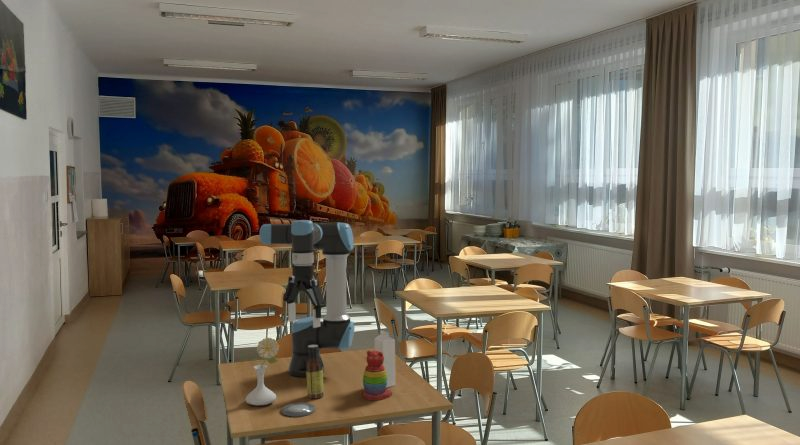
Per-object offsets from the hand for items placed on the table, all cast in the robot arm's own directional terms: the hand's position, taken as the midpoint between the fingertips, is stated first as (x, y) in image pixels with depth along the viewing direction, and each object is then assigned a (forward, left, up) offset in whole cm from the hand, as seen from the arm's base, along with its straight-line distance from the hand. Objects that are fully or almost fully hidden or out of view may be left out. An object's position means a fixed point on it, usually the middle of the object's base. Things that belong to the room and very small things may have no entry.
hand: (304, 324), depth 225 cm
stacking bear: (+3, +30, -33) cm, 45 cm away
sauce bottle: (-13, +13, -33) cm, 38 cm away
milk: (-4, +41, -33) cm, 53 cm away
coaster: (-5, 0, -33) cm, 33 cm away
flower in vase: (-21, -5, -33) cm, 39 cm away
